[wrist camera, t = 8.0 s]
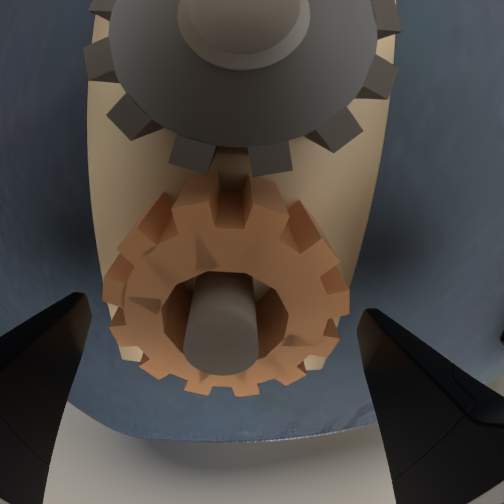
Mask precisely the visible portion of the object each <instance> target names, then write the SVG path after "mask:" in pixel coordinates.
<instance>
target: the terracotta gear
mask: <svg viewBox="0 0 504 504" xmlns="http://www.w3.org/2000/svg"><path fill="white" fill-rule="evenodd" d="M116 250H117V251H118V252H120V253H119V255H118V256H117V258H116V259H115V261H114V262H113V264H112V265H111V267H110V268H109V270H108V271H107V273H106V274H105V276H104V282H103V296H102V301H103V302H106V303H109V304H112V305H115V306H118V308H117V310H116V312H115V315H114V317H113V319H112V321H111V323H110V325H109V329H110V330H111V332H112V334H113V336H114V337H115V339H116V341H117V342H118V344H119V346H120V347H132V346H138V347H139V348H140V349H141V350H142V351H143V355H142V358H141V361H140V365H139V367H141V368H142V369H143V370H145V371H146V372H148V373H149V374H151V375H152V376H154V377H155V378H157V379H161V378H163V377H165V376H166V375H168V374H170V373H171V374H174V375H176V376H178V377H181V378H183V379H185V380H186V382H185V389H184V390H185V391H189V392H193V393H198V394H203V395H207V396H208V395H209V393H210V391H211V389H212V386H220V387H232V389H233V391H234V394H235V396H236V397H240V396H249V395H256V394H260V388H259V383H261V382H265V381H268V380H271V379H274V378H275V379H277V380H278V381H280V382H281V383H282V384H284V385H285V386H287V385H289V384H291V383H293V382H294V381H296V380H298V379H300V378H302V377H304V376H306V375H307V373H306V368H305V364H304V359H306V358H307V357H308V356H309V355H314V356H320V357H326V358H327V357H328V356H329V354H330V353H331V352H332V350H333V349H334V348H335V346H336V345H337V343H338V342H339V341H340V336H339V334H338V331H337V328H336V326H335V323H334V321H333V318H335V317H340V316H344V315H349V305H350V290H349V288H348V286H347V284H346V282H345V280H344V278H343V277H342V275H341V273H340V271H339V269H338V267H337V264H338V263H340V261H339V259H338V257H337V256H336V254H335V252H334V250H333V249H332V247H331V245H330V244H329V242H328V240H327V238H326V237H325V235H324V233H323V232H322V230H321V228H320V227H319V225H318V224H317V222H316V220H315V219H314V217H313V216H312V215H311V214H310V212H309V211H308V210H307V209H306V207H305V206H304V205H303V204H302V202H301V201H300V200H299V201H297V202H296V203H295V204H294V205H292V206H291V207H290V208H288V209H287V208H286V206H285V204H284V202H283V199H282V197H281V195H280V192H279V190H278V188H277V186H276V183H274V182H271V181H269V180H266V179H263V178H260V177H253V176H252V175H251V174H249V175H248V178H247V181H246V183H245V186H244V189H243V192H227V191H221V187H220V182H219V178H218V173H217V172H214V173H209V174H207V175H206V174H204V175H200V176H195V177H191V178H190V179H189V180H188V182H187V184H186V185H185V187H184V188H183V190H182V192H181V193H180V195H179V197H178V198H177V200H176V202H174V201H173V200H172V199H171V198H170V197H169V196H168V195H167V194H166V193H165V192H163V193H162V194H161V195H160V196H159V197H158V198H157V199H156V200H155V201H154V202H153V203H152V204H151V205H150V206H149V207H148V208H147V209H146V210H145V212H144V213H143V214H142V215H141V217H140V218H139V219H138V221H137V222H136V223H135V225H134V226H133V227H132V228H131V230H130V231H129V232H128V234H127V235H126V237H125V238H124V239H123V241H122V242H121V243H120V245H119V246H118V248H117V249H116ZM207 271H218V272H236V273H247V274H248V275H250V276H252V277H254V278H256V279H257V280H259V281H261V282H263V283H264V284H266V285H268V286H270V287H271V288H270V289H269V290H268V291H267V293H266V294H265V295H264V296H263V297H262V298H261V299H260V301H258V302H255V312H256V324H257V336H258V348H259V354H258V358H257V360H256V362H255V363H254V364H253V365H252V366H251V367H250V368H249V369H247V370H245V371H243V372H241V373H238V374H234V375H227V376H219V375H212V374H208V373H205V372H202V371H200V370H198V369H196V368H195V367H193V366H192V365H191V364H190V363H189V362H188V361H187V359H186V358H185V355H184V352H183V345H184V339H185V334H186V328H187V323H188V318H189V312H190V307H191V302H192V296H191V295H190V294H189V292H188V291H187V289H186V288H185V286H184V285H183V284H182V282H183V281H186V280H188V279H190V278H193V277H195V276H197V275H200V274H202V273H204V272H207Z"/></svg>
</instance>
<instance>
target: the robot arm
mask: <svg viewBox="0 0 504 504" xmlns="http://www.w3.org/2000/svg"><path fill="white" fill-rule="evenodd" d="M91 319H92V314H91V310H90V306H89V302H88V298H87V296H86V294H84V293H79V292H74V293H72V294H70V295H68V296H67V297H65V298H63V299H62V300H60V301H58V302H56V303H55V304H53V305H51V306H50V307H48V308H46V309H45V310H43V311H41V312H40V313H38V314H36V315H35V316H33V317H31V318H30V319H28V320H26V321H25V322H23V323H22V324H20V325H18V326H17V327H15V328H14V329H12V330H10V331H9V332H7V333H6V334H4V335H3V336H1V337H0V504H43V498H44V492H45V487H46V481H47V476H48V472H49V465H50V462H51V457H52V453H53V449H54V444H55V441H56V437H57V433H58V429H59V426H60V422H61V419H62V415H63V412H64V408H65V405H66V402H67V399H68V396H69V392H70V389H71V386H72V383H73V380H74V377H75V375H76V372H77V369H78V366H79V363H80V360H81V357H82V353H83V350H84V346H85V342H86V338H87V334H88V330H89V327H90V323H91ZM357 337H358V342H359V347H360V352H361V358H362V363H363V369H364V373H365V377H366V381H367V384H368V387H369V391H370V394H371V398H372V402H373V405H374V409H375V413H376V416H377V420H378V424H379V428H380V432H381V436H382V440H383V444H384V448H385V452H386V456H387V461H388V465H389V470H390V474H391V479H392V484H393V489H394V494H395V499H396V504H504V397H503V396H501V395H500V394H498V393H496V392H495V391H493V390H492V389H490V388H489V387H487V386H485V385H484V384H482V383H481V382H479V381H478V380H476V379H475V378H473V377H471V376H470V375H469V374H467V373H466V372H464V371H463V370H462V369H460V368H459V367H457V366H456V365H455V364H453V363H451V361H449V360H448V359H447V358H445V357H444V356H442V355H441V354H440V353H438V352H437V351H436V350H434V349H433V348H431V347H430V346H429V345H427V344H426V343H425V342H423V341H422V340H420V339H419V338H418V337H416V336H415V335H413V334H412V333H411V332H409V331H408V330H406V329H405V328H404V327H402V326H401V325H399V324H398V323H397V322H395V321H394V320H392V319H391V318H390V317H388V316H387V315H385V314H384V313H382V312H381V311H380V310H378V309H376V308H367V309H365V310H364V312H363V314H362V317H361V319H360V322H359V325H358V328H357ZM501 342H502V344H503V345H504V335H503V337H502V339H501Z"/></svg>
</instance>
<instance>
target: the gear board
mask: <svg viewBox="0 0 504 504" xmlns="http://www.w3.org/2000/svg"><path fill="white" fill-rule="evenodd" d="M88 11H90V12H92V13H94V14H96V16H95V23H94V30H93V37H92V44H90V45H88V46H85V47H83V54H84V60H85V66H86V72H87V77H88V103H87V144H88V168H89V183H90V195H91V205H92V214H93V222H94V230H95V237H96V244H97V251H98V257H99V262H100V268H101V273H102V279H103V282H104V276H105V274H106V273H107V271H108V270H109V268H110V267H111V265H112V264H113V262H114V261H115V259H116V258H117V256H118V255H119V253H120V252H118V251H117V250H116V249H117V248H118V246H119V245H120V243H121V242H122V241H123V239H124V238H125V237H126V235H127V234H128V232H129V231H130V230H131V228H132V227H133V226H134V225H135V223H136V222H137V221H138V219H139V218H140V217H141V215H142V214H143V213H144V212H145V210H146V209H147V208H148V207H149V206H150V205H151V204H152V203H153V202H154V201H155V200H156V199H157V198H158V197H159V196H160V195H161V194H162V193H163V192H165V193H166V194H167V195H168V196H169V197H170V198H171V199H172V200H173V201H174V202H176V200H177V198H178V197H179V195H180V193H181V192H182V190H183V188H184V187H185V185H186V184H187V182H188V180H189V179H190V178H191V177H195V176H200V175H204V174H206V175H207V174H209V173H214V172H217V173H218V178H219V182H220V187H221V191H227V192H243V189H244V186H245V183H246V181H247V178H248V175H249V174H251V175H252V176H253V177H260V178H263V179H266V180H269V181H271V182H274V183H276V186H277V188H278V190H279V192H280V195H281V197H282V199H283V202H284V204H285V206H286V208H287V209H288V208H290V207H291V206H292V205H294V204H295V203H296V202H297V201H299V200H300V201H301V202H302V204H303V205H304V206H305V207H306V209H307V210H308V211H309V212H310V214H311V215H312V216H313V217H314V219H315V220H316V222H317V224H318V225H319V227H320V228H321V230H322V232H323V233H324V235H325V237H326V238H327V240H328V242H329V244H330V245H331V247H332V249H333V250H334V252H335V254H336V256H337V257H338V259H339V261H340V263H338V264H337V267H338V269H339V271H340V273H341V275H342V277H343V278H344V280H345V282H346V284H347V286H348V288H350V285H351V282H352V278H353V275H354V271H355V268H356V264H357V260H358V257H359V253H360V249H361V245H362V242H363V238H364V234H365V230H366V225H367V221H368V217H369V213H370V208H371V204H372V199H373V195H374V190H375V185H376V180H377V175H378V170H379V165H380V159H381V154H382V148H383V142H384V136H385V129H386V122H387V115H388V108H389V100H390V93H391V91H392V88H393V86H394V83H395V80H396V78H397V75H398V72H399V70H400V68H398V67H397V66H395V65H393V60H394V45H395V34H397V33H400V32H402V28H401V24H400V20H399V15H398V11H397V7H396V0H92V2H91V5H90V7H89V9H88ZM182 284H183V285H184V286H185V288H186V289H187V291H188V292H189V294H190V295H191V296H192V302H191V307H190V312H189V318H188V323H187V328H186V334H185V339H184V345H183V352H184V355H185V358H186V359H187V361H188V362H189V363H190V364H191V365H192V366H193V367H195V368H196V369H198V370H200V371H202V372H205V373H208V374H212V375H219V376H227V375H234V374H238V373H241V372H243V371H245V370H247V369H249V368H250V367H251V366H252V365H253V364H254V363H255V362H256V360H257V358H258V354H259V348H258V336H257V324H256V312H255V302H258V301H260V299H261V298H262V297H263V296H264V295H265V294H266V293H267V291H268V290H269V289H270V288H271V287H270V286H268V285H266V284H264V283H263V282H261V281H259V280H257V279H256V278H254V277H252V276H250V275H248V274H247V273H236V272H218V271H207V272H204V273H202V274H200V275H197V276H195V277H193V278H190V279H188V280H186V281H183V282H182ZM108 307H109V311H110V315H111V319H113V317H114V315H115V312H116V310H117V308H118V306H115V305H112V304H109V303H108ZM340 317H341V316H340ZM340 317H335V318H333V321H334V323H335V326H336V328H337V326H338V323H339V320H340ZM118 346H119V344H118ZM119 350H120V353H121V356H122V359H123V360H130V361H137V362H140V361H141V358H142V355H143V351H142V350H141V349H140V348H139V347H138V346H132V347H120V346H119ZM325 360H326V357H320V356H314V355H309V356H308V357H307V358H306V359H304V364H305V368H306V370H322V368H323V365H324V363H325Z"/></svg>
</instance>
